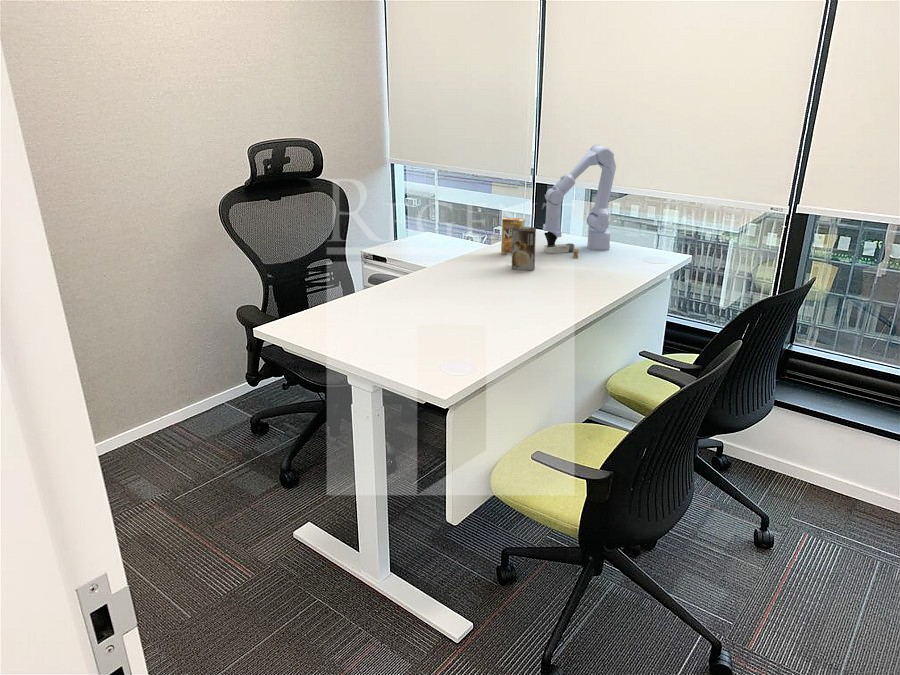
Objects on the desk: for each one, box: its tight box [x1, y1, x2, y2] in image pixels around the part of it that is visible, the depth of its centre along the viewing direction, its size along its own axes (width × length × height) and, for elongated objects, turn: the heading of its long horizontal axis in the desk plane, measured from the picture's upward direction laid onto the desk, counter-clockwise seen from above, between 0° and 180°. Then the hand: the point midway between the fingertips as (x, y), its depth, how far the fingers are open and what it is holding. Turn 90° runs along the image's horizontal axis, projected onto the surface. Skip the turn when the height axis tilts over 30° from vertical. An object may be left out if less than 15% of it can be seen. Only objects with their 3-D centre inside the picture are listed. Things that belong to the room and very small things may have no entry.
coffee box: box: [511, 226, 537, 271], centre depth 282 cm, size 9×6×16 cm
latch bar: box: [543, 243, 576, 255], centre depth 300 cm, size 13×4×3 cm, turn 104°
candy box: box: [500, 216, 526, 255], centre depth 300 cm, size 9×4×15 cm, turn 70°
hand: (550, 249), depth 302 cm, fingers closed, pressing on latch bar
